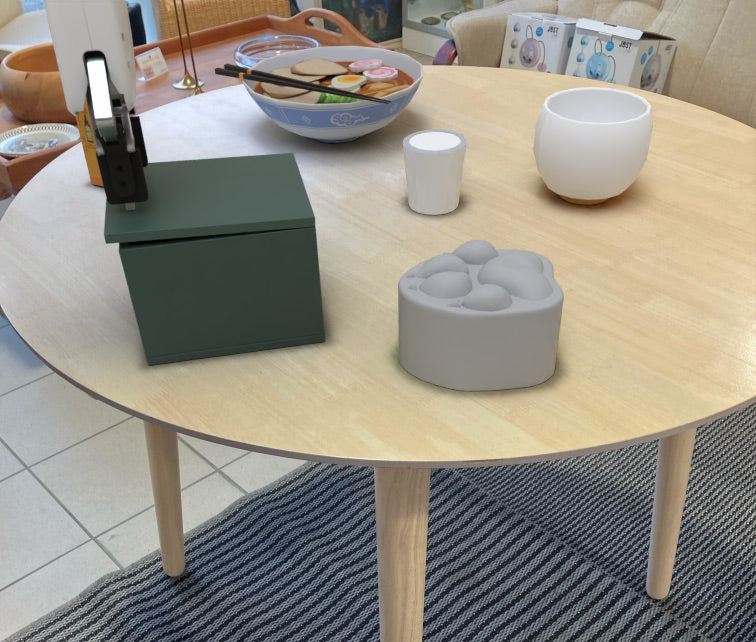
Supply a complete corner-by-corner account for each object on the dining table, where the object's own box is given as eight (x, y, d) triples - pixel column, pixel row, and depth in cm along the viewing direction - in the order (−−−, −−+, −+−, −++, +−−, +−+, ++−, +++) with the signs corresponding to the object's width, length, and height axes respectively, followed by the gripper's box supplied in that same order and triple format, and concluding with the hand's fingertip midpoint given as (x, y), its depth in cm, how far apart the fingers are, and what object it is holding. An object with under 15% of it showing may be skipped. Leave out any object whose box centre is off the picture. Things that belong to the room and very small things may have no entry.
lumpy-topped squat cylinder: (560, 386, 70) (574, 292, 64) (402, 394, 70) (401, 300, 64) (538, 319, 78) (548, 229, 72) (395, 326, 78) (393, 236, 72)
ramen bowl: (463, 121, 114) (465, 54, 108) (366, 184, 100) (363, 111, 94) (312, 91, 124) (308, 28, 118) (207, 144, 111) (196, 76, 105)
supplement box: (130, 179, 103) (110, 91, 96) (110, 190, 101) (88, 101, 94) (110, 174, 104) (88, 87, 98) (90, 184, 102) (66, 96, 95)
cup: (661, 208, 93) (680, 116, 87) (557, 225, 91) (568, 133, 84) (608, 165, 102) (622, 79, 95) (512, 180, 100) (519, 93, 93)
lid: (105, 244, 66) (90, 177, 63) (110, 174, 76) (97, 113, 72) (315, 226, 69) (312, 161, 65) (293, 161, 78) (290, 101, 75)
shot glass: (455, 220, 93) (457, 155, 88) (395, 213, 94) (394, 149, 90) (471, 194, 97) (474, 131, 92) (413, 187, 99) (413, 125, 94)
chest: (148, 366, 74) (118, 250, 67) (147, 288, 84) (121, 180, 76) (325, 341, 76) (315, 227, 69) (304, 269, 86) (294, 161, 78)
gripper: (26, -97, 63) (87, 148, 76) (-2, -47, 51) (76, 236, 64) (129, -103, 64) (172, 140, 77) (126, -54, 52) (178, 226, 64)
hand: (128, 181), depth 70 cm, fingers closed on lid, 6 cm apart
